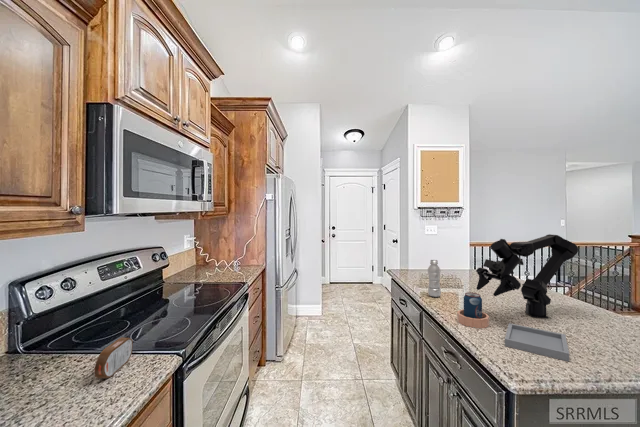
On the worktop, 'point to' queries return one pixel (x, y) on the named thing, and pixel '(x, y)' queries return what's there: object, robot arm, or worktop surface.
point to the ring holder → (473, 320)
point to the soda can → (473, 305)
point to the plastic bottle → (434, 279)
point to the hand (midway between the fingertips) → (485, 292)
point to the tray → (537, 341)
